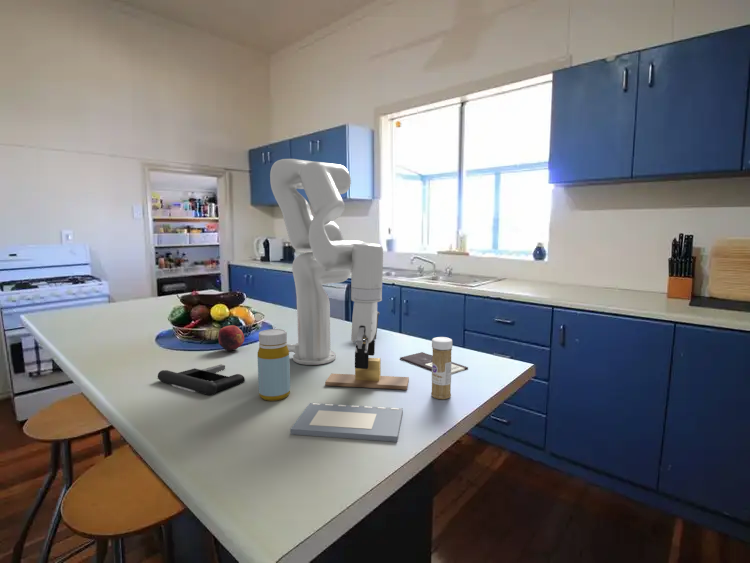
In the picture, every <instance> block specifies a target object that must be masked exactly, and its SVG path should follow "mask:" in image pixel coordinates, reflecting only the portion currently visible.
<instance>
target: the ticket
mask: <svg viewBox="0 0 750 563" xmlns="http://www.w3.org/2000/svg"><path fill="white" fill-rule="evenodd" d="M403 413H404V409H403V408H402V407H401V408H400V407H388V406H387V407H386V406H373V405H371V406H369V405H355V404H354V405H353V404H352V405H351V404H340V403H339V404H336V403H322V402H320V403H319V402H309V403H308V404H307V406H306V408H305V409H304V411H302V413H301V415H300V416H298V418H297V419H296V421H295V423H294V424H292V426H291V428H290V429H289V430H290V432H289V433H290V435H297V436H298V435H299V436H312V437H313V436H314V437H324V438H339V439H354V440H355V439H356V440H365V441H366V440H368V441H380V442H381V441H382V442H395V443H398V440H399V435H400V431H401V430H400V428H401V424H402V418H403Z"/></svg>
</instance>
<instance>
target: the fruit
mask: <svg viewBox="0 0 750 563" xmlns="http://www.w3.org/2000/svg"><path fill="white" fill-rule="evenodd" d="M244 342H245V335H244V333H243V330H242V329H240V328H239V327H238V326H236V325H232V324H231V325H226V326H223V327H222V328H220V329H219V330H218V344H219V346H220V347H222V348H223V349H224V350H226V351H227V352H231V351H232V350H233V351H235V350H236V349H238V348H240V347H241V346H242V345H243V344H244Z"/></svg>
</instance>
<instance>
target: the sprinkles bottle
mask: <svg viewBox="0 0 750 563" xmlns="http://www.w3.org/2000/svg"><path fill="white" fill-rule="evenodd" d="M431 347H432V348H431V349H432V357H433V358H432V359H433V360H432V371H431V393H430V395H431V396H432V398H434V399H436V400H447V399H449V398H451V397H452V393H451V389H452V388H451V385H452V374H451V362H452V350H453V349H452V348H453V339H452V338H449V337H446V336H437V337H433V338H432V339H431Z"/></svg>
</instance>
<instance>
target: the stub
mask: <svg viewBox="0 0 750 563" xmlns="http://www.w3.org/2000/svg"><path fill="white" fill-rule="evenodd" d="M381 361H382V360H381V357H380V358H379V357H369V359H368V369H360V368H355V367H354V374H350V373H330V375H329V376H328V378H327V379H326V380H325V384H324V385H325V386H331V387H333V386H334V387H350V388H352V387H353V388H370V389H389V390H406V391H407V390H408V388H409V387H408V386H409V382H410V377H409V376H395V375H394V376H392V375H391V376H390V375H381V372H382V371H381V370H382V369H381Z"/></svg>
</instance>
